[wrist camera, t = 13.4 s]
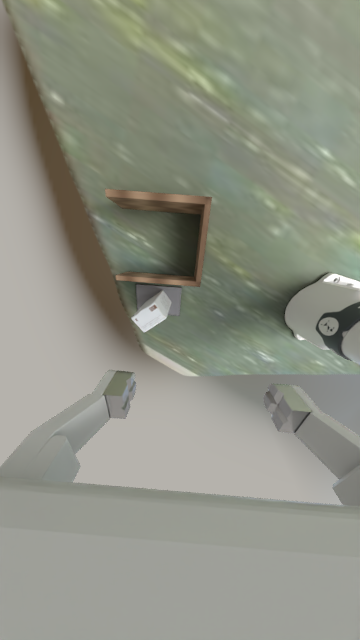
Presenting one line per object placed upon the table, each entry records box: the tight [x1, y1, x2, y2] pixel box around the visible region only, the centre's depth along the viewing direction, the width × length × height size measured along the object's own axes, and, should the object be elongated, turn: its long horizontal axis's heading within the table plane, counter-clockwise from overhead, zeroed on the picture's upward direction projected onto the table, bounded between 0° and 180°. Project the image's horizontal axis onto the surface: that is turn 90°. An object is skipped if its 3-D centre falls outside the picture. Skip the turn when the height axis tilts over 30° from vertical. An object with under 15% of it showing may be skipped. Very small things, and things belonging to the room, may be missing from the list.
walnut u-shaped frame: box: [105, 189, 212, 287], centre depth 30 cm, size 18×15×7 cm
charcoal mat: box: [136, 284, 182, 316], centre depth 39 cm, size 12×8×1 cm, turn 86°
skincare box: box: [131, 290, 172, 333], centre depth 33 cm, size 6×4×12 cm
